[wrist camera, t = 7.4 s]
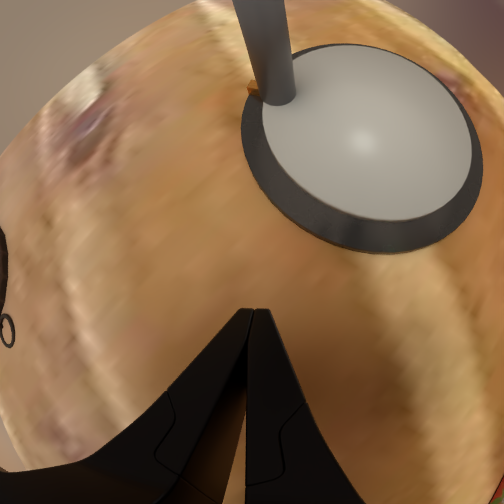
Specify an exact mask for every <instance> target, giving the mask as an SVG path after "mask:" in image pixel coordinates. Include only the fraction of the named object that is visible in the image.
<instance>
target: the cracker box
mask: <svg viewBox="0 0 504 504" xmlns="http://www.w3.org/2000/svg"><path fill="white" fill-rule="evenodd" d="M490 504H504V477H503V479H502V481H501V483H500V485H499V487H498V489H497V491H496V493H495V495H494V497H493V498H492V500H491V502H490Z"/></svg>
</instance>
